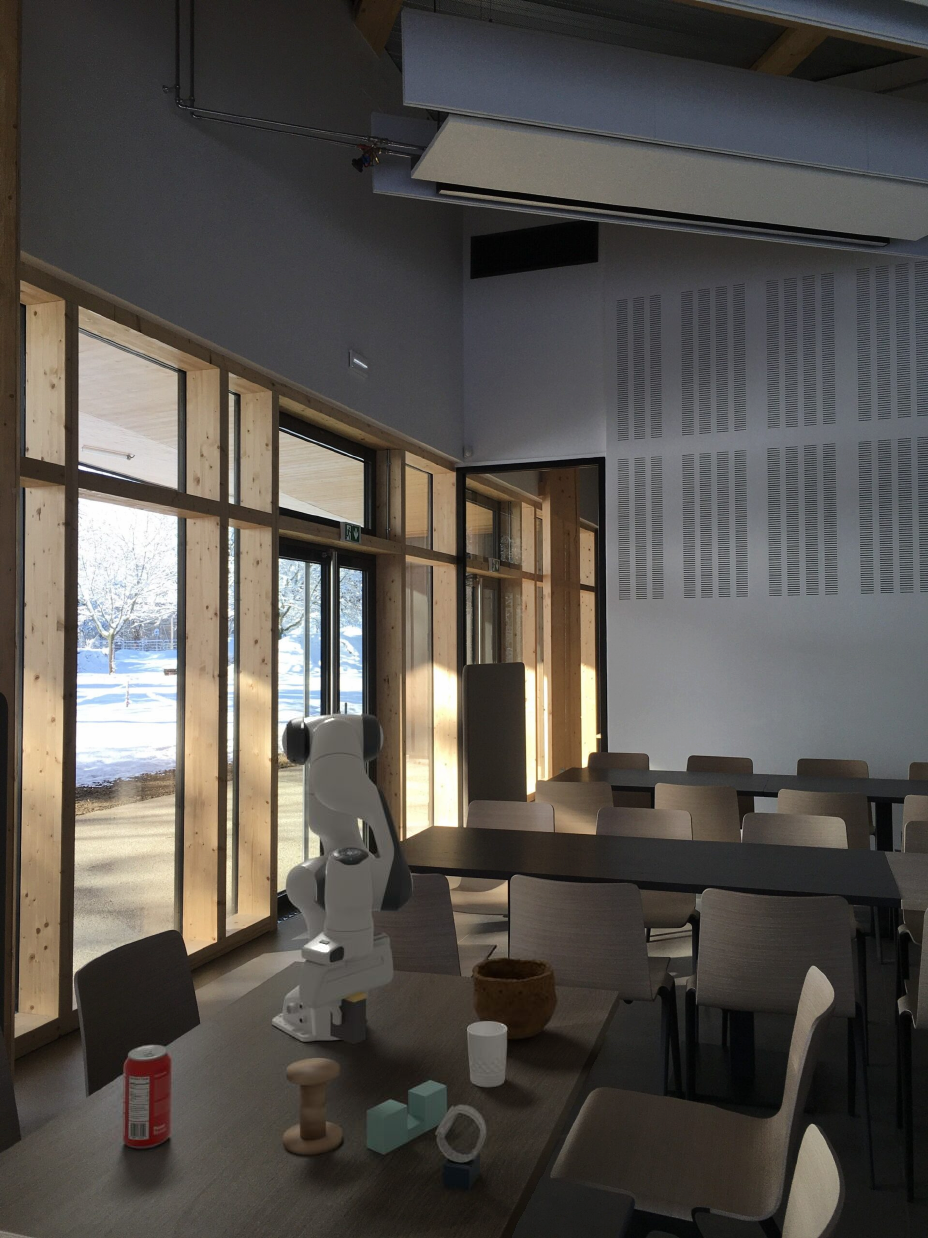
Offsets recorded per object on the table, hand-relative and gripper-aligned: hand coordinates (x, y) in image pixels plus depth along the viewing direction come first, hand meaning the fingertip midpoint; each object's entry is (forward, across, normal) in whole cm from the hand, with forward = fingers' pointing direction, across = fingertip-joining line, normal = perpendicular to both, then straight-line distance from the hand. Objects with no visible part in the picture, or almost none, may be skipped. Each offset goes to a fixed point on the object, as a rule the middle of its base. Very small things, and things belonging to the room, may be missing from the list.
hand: (348, 1020), depth 174 cm
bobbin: (+18, +9, +1) cm, 20 cm away
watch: (+17, +3, +29) cm, 34 cm away
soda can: (+18, +27, -21) cm, 39 cm away
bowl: (+18, -51, -1) cm, 54 cm away
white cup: (+18, -29, +9) cm, 35 cm away
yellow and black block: (+3, 0, 0) cm, 3 cm away
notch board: (+18, -3, +12) cm, 21 cm away
